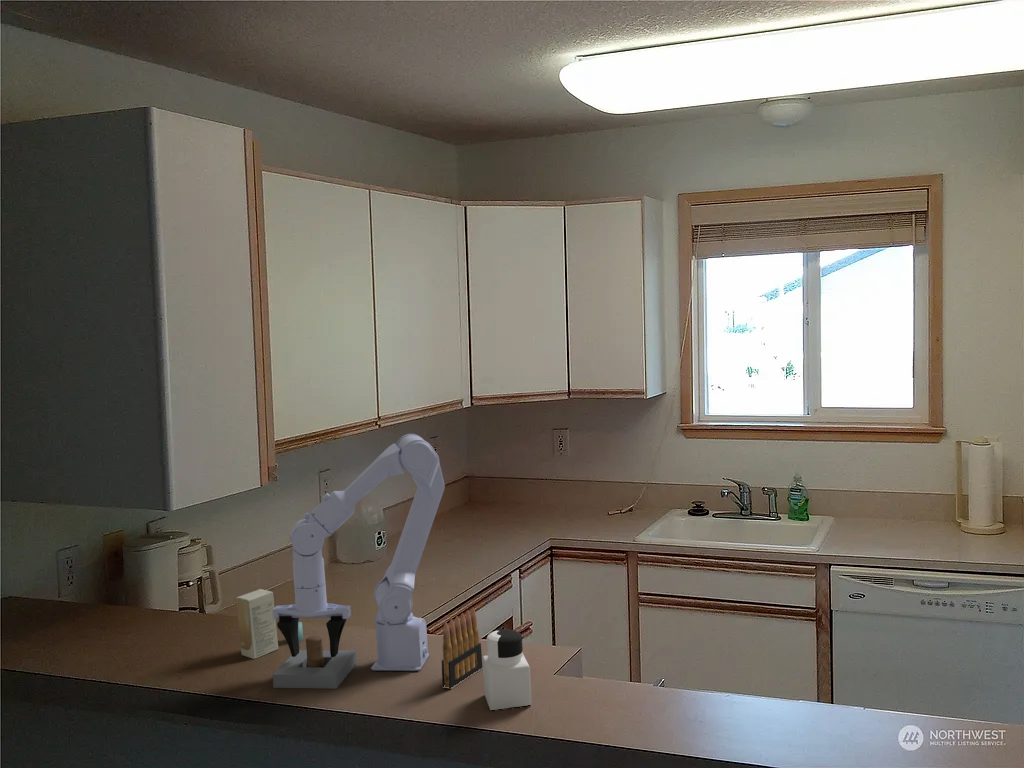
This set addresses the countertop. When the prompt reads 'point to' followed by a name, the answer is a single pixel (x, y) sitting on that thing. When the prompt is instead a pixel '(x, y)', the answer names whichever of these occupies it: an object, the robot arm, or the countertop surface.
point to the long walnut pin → (315, 652)
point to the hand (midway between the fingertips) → (314, 654)
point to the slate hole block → (315, 671)
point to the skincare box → (257, 623)
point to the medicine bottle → (506, 671)
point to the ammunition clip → (460, 649)
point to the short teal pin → (300, 631)
